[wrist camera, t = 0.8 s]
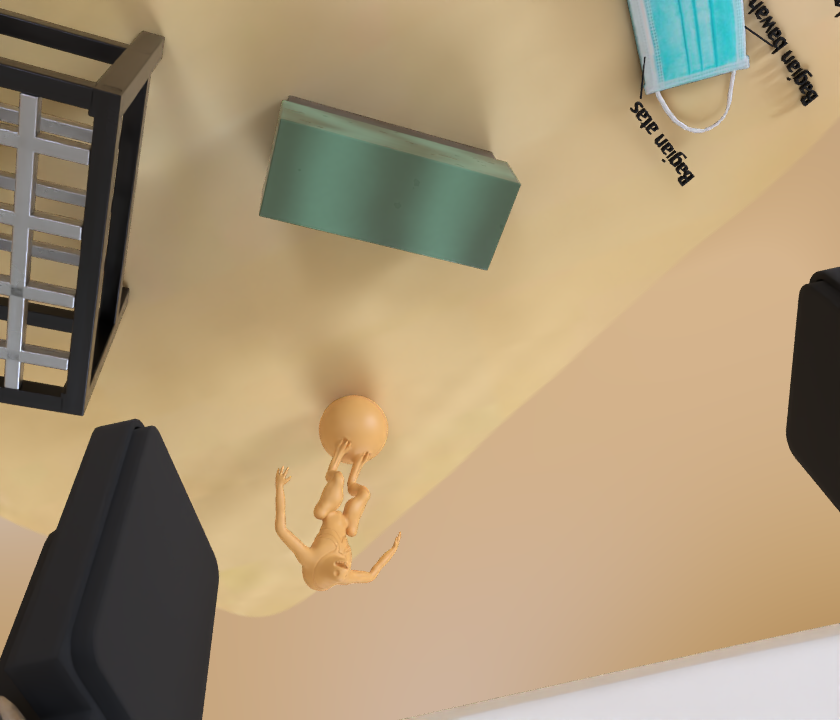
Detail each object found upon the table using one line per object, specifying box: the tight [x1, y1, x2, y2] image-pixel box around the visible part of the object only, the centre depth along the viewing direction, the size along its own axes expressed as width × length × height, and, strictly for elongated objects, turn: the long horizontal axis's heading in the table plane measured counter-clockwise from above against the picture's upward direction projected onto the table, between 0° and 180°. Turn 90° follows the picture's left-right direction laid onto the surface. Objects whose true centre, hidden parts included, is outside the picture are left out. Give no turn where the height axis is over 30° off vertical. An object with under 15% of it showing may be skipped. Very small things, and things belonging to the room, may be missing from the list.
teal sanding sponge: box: [259, 96, 521, 270], centre depth 38 cm, size 11×4×5 cm, turn 72°
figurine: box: [275, 395, 401, 591], centre depth 43 cm, size 8×6×12 cm
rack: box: [0, 8, 165, 416], centre depth 34 cm, size 14×10×10 cm
